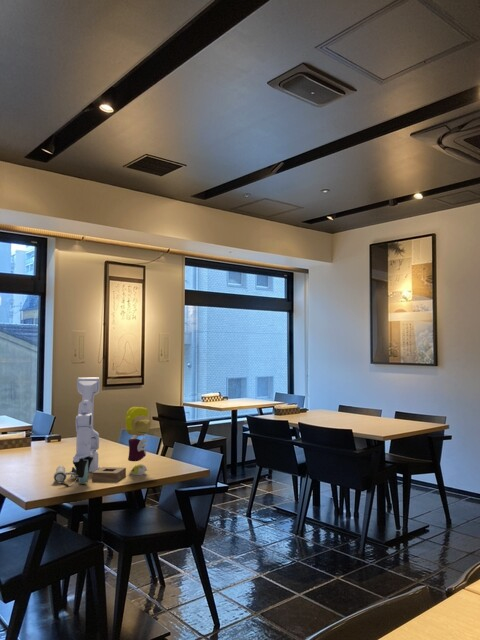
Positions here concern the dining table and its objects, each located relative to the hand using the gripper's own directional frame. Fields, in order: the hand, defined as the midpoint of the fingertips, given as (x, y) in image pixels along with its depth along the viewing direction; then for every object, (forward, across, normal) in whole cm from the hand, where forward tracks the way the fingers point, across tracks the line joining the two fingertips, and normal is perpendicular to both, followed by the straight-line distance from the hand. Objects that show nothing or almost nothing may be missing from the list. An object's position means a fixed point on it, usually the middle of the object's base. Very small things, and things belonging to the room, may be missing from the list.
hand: (82, 476), depth 210 cm
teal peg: (+2, 0, 0) cm, 2 cm away
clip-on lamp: (+3, +2, +7) cm, 9 cm away
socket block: (+3, +11, -7) cm, 14 cm away
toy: (+3, +25, -15) cm, 29 cm away
